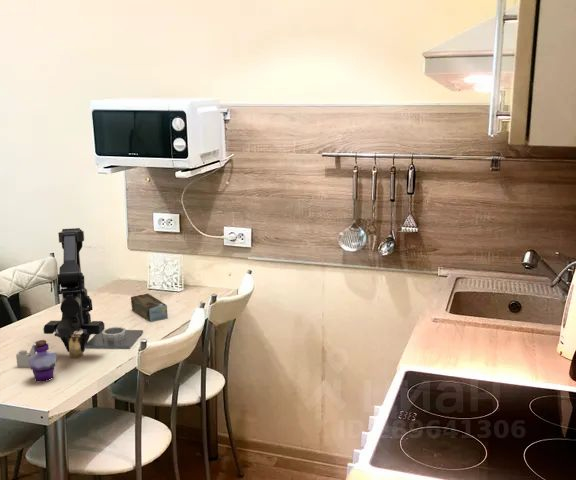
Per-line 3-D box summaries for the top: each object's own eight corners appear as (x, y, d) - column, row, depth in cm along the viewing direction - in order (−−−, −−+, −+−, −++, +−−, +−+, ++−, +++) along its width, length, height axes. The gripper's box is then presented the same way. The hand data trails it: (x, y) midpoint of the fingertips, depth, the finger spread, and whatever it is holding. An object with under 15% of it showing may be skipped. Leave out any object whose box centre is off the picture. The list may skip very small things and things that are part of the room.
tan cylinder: (67, 358, 208) (65, 338, 207) (72, 353, 212) (71, 333, 211) (80, 358, 208) (78, 338, 206) (85, 353, 212) (83, 334, 211)
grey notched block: (17, 367, 201) (14, 343, 199) (19, 365, 203) (17, 341, 201) (39, 367, 201) (36, 343, 199) (41, 365, 203) (39, 341, 201)
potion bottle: (35, 372, 197) (31, 336, 194) (63, 372, 197) (59, 336, 194) (24, 384, 188) (20, 346, 186) (53, 384, 188) (50, 346, 186)
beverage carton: (149, 323, 243) (148, 306, 241) (130, 310, 258) (129, 295, 257) (168, 319, 247) (167, 303, 246) (149, 307, 262) (148, 292, 261)
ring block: (84, 348, 217) (83, 338, 216) (100, 332, 232) (100, 323, 232) (129, 348, 216) (129, 339, 215) (143, 332, 231) (142, 323, 231)
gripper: (33, 314, 199) (38, 360, 202) (91, 315, 198) (94, 361, 201) (48, 304, 210) (52, 347, 213) (103, 304, 209) (106, 348, 212)
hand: (76, 351), depth 210 cm, fingers open, 5 cm apart
